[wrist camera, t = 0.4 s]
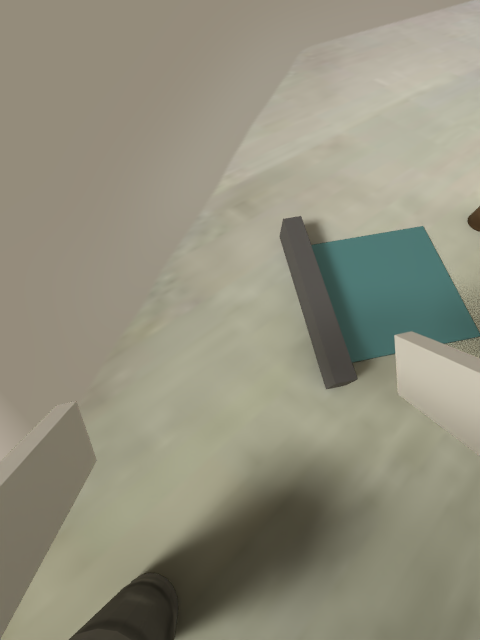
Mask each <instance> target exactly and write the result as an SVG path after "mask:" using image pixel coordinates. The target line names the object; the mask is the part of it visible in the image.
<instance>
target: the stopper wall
mask: <svg viewBox="0 0 480 640" xmlns="http://www.w3.org/2000/svg"><path fill="white" fill-rule="evenodd" d="M280 239H281V243H282V246H283V249H284V253H285V256H286V259H287V262H288V266H289V269H290V272H291V276H292V279H293V282H294V285H295V289H296V292H297V295H298V299H299V302H300V305H301V308H302V312H303V315H304V318H305V322H306V325H307V328H308V331H309V335H310V338H311V341H312V345H313V348H314V351H315V354H316V358H317V361H318V364H319V368H320V371H321V374H322V377H323V381H324V384H325V387H326V389H330V388H335V387H339V386H344V385H347V384H349V383H351V382H353V381H355V380H357V376H356V373H355V370H354V367H353V364H352V361H351V359H350V356H349V353H348V350H347V347H346V344H345V341H344V338H343V335H342V333H341V330H340V327H339V324H338V321H337V318H336V315H335V312H334V310H333V307H332V304H331V301H330V298H329V295H328V292H327V289H326V287H325V284H324V281H323V278H322V275H321V272H320V269H319V266H318V263H317V261H316V258H315V255H314V252H313V249H312V246H311V243H310V240H309V238H308V235H307V232H306V229H305V226H304V223H303V220H302V217H301V216H299V217H293V218H286V219H283V222H282V227H281V232H280Z"/></svg>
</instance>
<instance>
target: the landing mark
mask: <svg viewBox="0 0 480 640" xmlns="http://www.w3.org/2000/svg"><path fill="white" fill-rule="evenodd" d="M311 246H312V249H313V252H314V255H315V258H316V261H317V263H318V266H319V269H320V272H321V275H322V278H323V281H324V284H325V287H326V289H327V292H328V295H329V298H330V301H331V304H332V307H333V310H334V312H335V315H336V318H337V321H338V324H339V327H340V330H341V333H342V335H343V338H344V341H345V344H346V347H347V350H348V353H349V356H350V359H351V361H352V362H356V361H361V360H366V359H371V358H376V357H381V356H386V355H391V354H395V337H394V335H396V334H401V333H406V332H411V331H412V332H415V333H417V334H420V335H422V336H425V337H428V338H430V339H433V340H435V341H438V342H440V343H443V344H445V343H450V342H455V341H460V340H465V339H470V338H475V337H480V333H479V331H478V329H477V327H476V325H475V323H474V322H473V320H472V318H471V316H470V314H469V312H468V310H467V308H466V306H465V305H464V303H463V301H462V299H461V297H460V295H459V293H458V291H457V289H456V288H455V286H454V284H453V282H452V280H451V278H450V276H449V274H448V272H447V271H446V269H445V267H444V265H443V263H442V261H441V259H440V257H439V255H438V254H437V252H436V250H435V248H434V246H433V244H432V242H431V240H430V238H429V237H428V235H427V233H426V231H425V229H424V227H423V226H421V227H415V228H409V229H403V230H397V231H391V232H386V233H380V234H374V235H368V236H362V237H356V238H350V239H344V240H338V241H332V242H326V243H320V244H314V245H311Z"/></svg>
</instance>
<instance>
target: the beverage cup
mask: <svg viewBox="0 0 480 640" xmlns="http://www.w3.org/2000/svg"><path fill="white" fill-rule="evenodd" d="M177 614H178V601H177V595H176V593H175V590H174V587H173V586H172V584H171V583H170V582H169V581H168V580H167V578H165V577H163V576H161V575H160V574H154V573H148V574H144V575H140V576H139V577H137V578H136V579H134V580H133V581H132V582H131V583H130V584H129V585H127V586H126V587H124V588H123V589H122V590H121V591H120V592H119V593H118V594H117V595H116V596H114V597H113V598H112V599H111V600H110V601H109V602H108V603H107V604H106V605H105V606H104V607H103V608H102V609H101V610H100V611H99V612H98V613H97V614H95V615H94V616H93V617H92V618H91V619H90V620H89V621H88V622H87V623H86V624H85V625H84V626H83V627H82V628H81V629H80V630H79V631H78V632H77V633H75V634H74V635H73V636H72V637H71V638H70V639H69V640H174V637H175V630H176V623H177Z"/></svg>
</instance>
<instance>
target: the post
mask: <svg viewBox="0 0 480 640" xmlns="http://www.w3.org/2000/svg"><path fill="white" fill-rule="evenodd" d="M468 224H469V225H470V227H472V228H473V229H474V230H477V231H480V206H479V207H478V208H477V209H476V210H475V211H474V212H473V213H472V214H471V215H470V216H469V217H468Z"/></svg>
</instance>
